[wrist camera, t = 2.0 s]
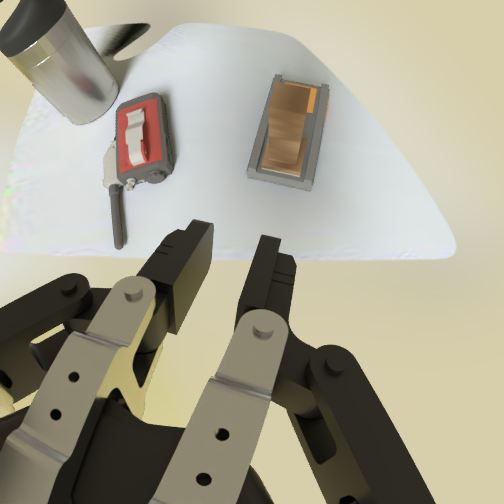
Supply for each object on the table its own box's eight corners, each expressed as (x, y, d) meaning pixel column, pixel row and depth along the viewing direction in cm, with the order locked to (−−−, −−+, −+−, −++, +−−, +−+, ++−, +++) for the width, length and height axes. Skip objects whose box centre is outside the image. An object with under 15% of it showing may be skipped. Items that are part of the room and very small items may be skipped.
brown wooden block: (261, 167, 30) (258, 112, 21) (270, 135, 31) (270, 75, 21) (299, 175, 30) (312, 122, 20) (306, 143, 31) (319, 85, 21)
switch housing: (248, 177, 33) (246, 167, 30) (273, 87, 35) (273, 74, 32) (311, 191, 32) (314, 182, 29) (327, 98, 34) (331, 85, 31)
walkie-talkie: (109, 117, 36) (116, 253, 33) (96, 100, 32) (97, 246, 28) (167, 97, 36) (186, 235, 33) (157, 77, 32) (174, 225, 28)
